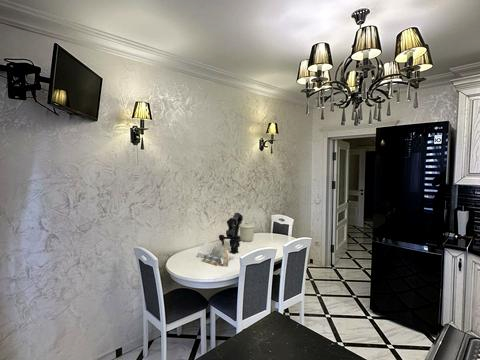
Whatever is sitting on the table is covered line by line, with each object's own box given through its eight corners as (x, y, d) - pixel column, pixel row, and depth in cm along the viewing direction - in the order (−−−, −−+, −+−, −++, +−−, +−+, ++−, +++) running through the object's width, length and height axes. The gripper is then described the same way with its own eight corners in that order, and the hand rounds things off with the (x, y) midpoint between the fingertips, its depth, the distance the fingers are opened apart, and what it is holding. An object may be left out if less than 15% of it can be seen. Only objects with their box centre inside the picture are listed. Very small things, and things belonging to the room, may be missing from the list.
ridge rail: (202, 261, 223) (202, 255, 223) (207, 259, 228) (207, 253, 228) (217, 265, 214) (217, 259, 214) (221, 263, 219) (221, 257, 219)
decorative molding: (214, 248, 266) (204, 245, 266) (215, 244, 266) (206, 241, 266) (208, 261, 232) (197, 257, 232) (209, 256, 232) (198, 252, 232)
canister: (255, 238, 295) (255, 219, 294) (254, 243, 277) (255, 223, 276) (239, 237, 297) (239, 219, 296) (237, 242, 279) (238, 222, 278)
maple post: (226, 264, 217) (226, 249, 216) (229, 265, 214) (229, 250, 213) (222, 265, 214) (222, 250, 214) (225, 267, 211) (225, 251, 211)
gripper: (219, 225, 227) (215, 241, 217) (240, 226, 223) (237, 243, 213) (221, 232, 235) (218, 248, 225) (242, 233, 231) (239, 249, 221)
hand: (228, 247), depth 221 cm, fingers open, 9 cm apart
